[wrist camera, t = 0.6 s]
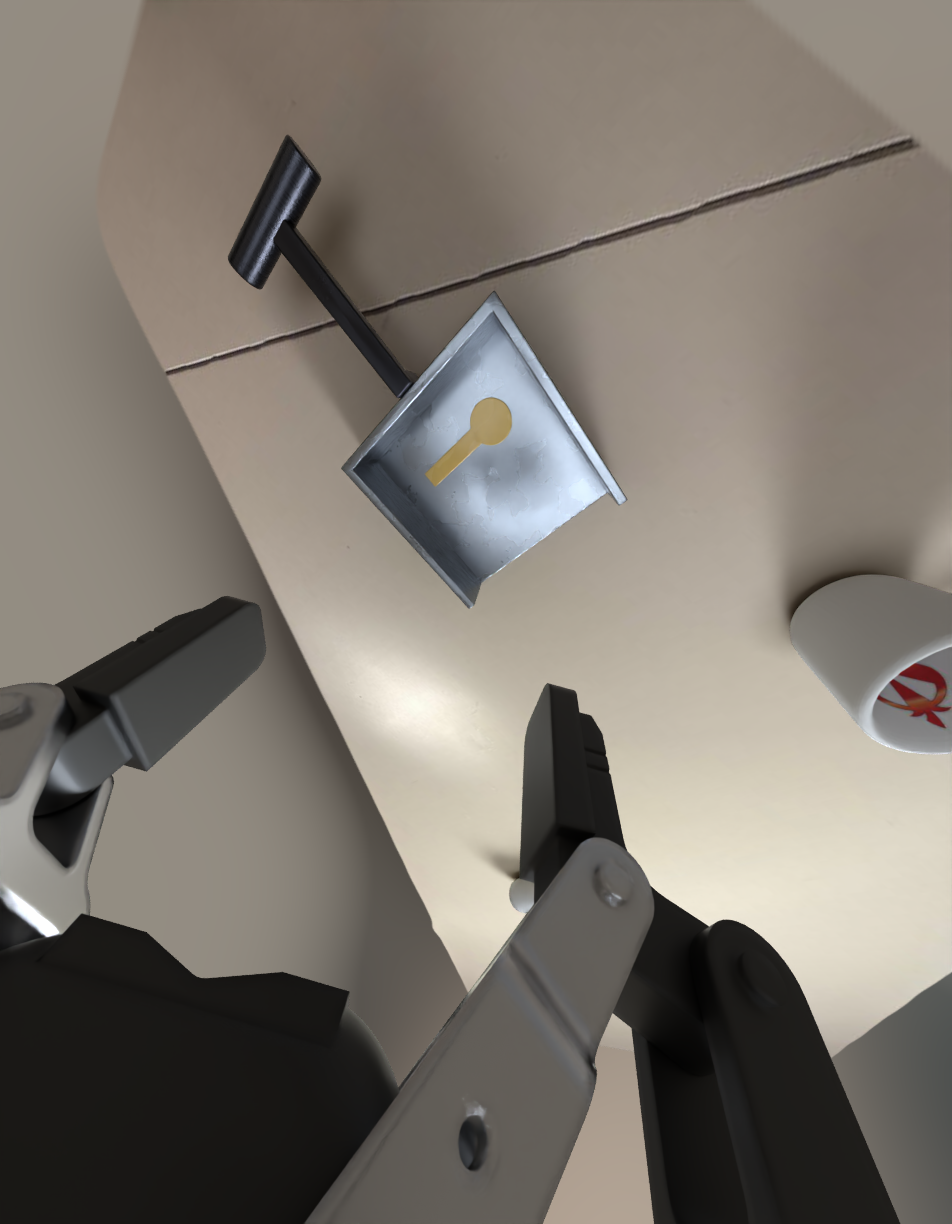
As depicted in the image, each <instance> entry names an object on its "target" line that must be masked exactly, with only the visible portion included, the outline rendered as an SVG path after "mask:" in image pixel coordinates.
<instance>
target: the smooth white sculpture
mask: <svg viewBox="0 0 952 1224" xmlns="http://www.w3.org/2000/svg"><path fill="white" fill-rule="evenodd" d="M509 897H510V901H511V904H512V905H513V907H514V908H515V909H516V910H517V911H520V912H523V913H528V911H529V910H530V908H531V907H532V906H533V904H534V883H532V882H529V881H525V880H522V879H517V880H515V881H514V882H513V883H512V884H511V887H510V890H509Z"/></svg>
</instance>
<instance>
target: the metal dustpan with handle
mask: <svg viewBox="0 0 952 1224" xmlns="http://www.w3.org/2000/svg"><path fill="white" fill-rule="evenodd" d="M320 182H321V176H320V174H319V173H318V171H317V170H316V168H315V167H314V165H313V164H312V163H311V161H310V160H309V159H308V157H307V156H306V155H305V153H304V152H303V151H302V150H301V148H300V147H299V146H298V145H297V143H296V142H295V141H294V140H293V139H292V138H291V137H290V136H289V135H286V136H285V139H284V141H283V143H282V145H281V147H280V149H279V151H278V153H277V155H276V157H275V159H274V161H273V164H272V166H271V168H270V170H269V172H268V174H267V176H266V178H265V180H264V182H263V184H262V187H261V189H260V191H259V193H258V195H257V197H256V199H255V201H254V203H253V205H252V207H251V210H250V212H249V214H248V216H247V218H246V220H245V222H244V224H243V226H242V228H241V230H240V232H239V235H238V237H237V239H236V241H235V243H234V245H233V247H232V249H231V251H230V253H229V255H228V261H229V263H230V264H231V266H232V267H233V268H234V269H235V271H236V272H237V273H238V274H239V275H240V276H241V277H242V278H243V279H244V280H245V281H247V282H248V283H249V284H250V285H252V286H253V287H255V288H257V289H262V288H263V286H264V284H265V283H266V281H267V279H268V277H269V275H270V273H271V272H272V270H273V268H274V266H275V264H276V263H277V261H278V259H279V257H280V255H281V253H282V254H283V255H284V256H285V258H286V259H287V260H288V261H289V263H290V264H291V265H292V266H293V268H294V269H295V270H296V271H297V273H298V274H299V275H300V276H301V278H302V279H303V280H304V281H305V283H306V284H307V285H308V287H309V288H310V289H311V290H312V292H313V293H314V294H315V295H316V297H317V298H318V299H319V300H320V302H321V303H322V304H323V305H324V307H325V308H326V309H327V310H328V312H329V313H330V314H331V315H332V317H333V318H334V319H335V320H336V322H337V323H338V324H339V325H340V327H341V328H342V329H343V331H344V332H345V333H346V334H347V336H348V337H349V338H350V339H351V341H352V342H353V343H354V344H355V346H356V347H357V348H358V349H359V351H360V352H361V353H362V354H363V356H364V357H365V358H366V359H367V361H368V362H369V363H370V364H371V366H372V367H373V368H374V369H375V371H376V372H377V373H378V375H379V376H380V377H381V378H382V380H383V381H384V382H385V383H386V385H387V386H388V387H389V388H390V390H391V391H392V392H393V393H394V395H395V396H396V397H397V398H401V399H400V400H399V401H398V402H397V404H396V405H395V406H394V407H393V408H392V409H391V410H390V412H389V413H388V414H387V415H386V416H385V417H384V419H383V420H382V421H381V422H380V423H379V424H378V426H377V427H376V428H375V429H374V430H373V431H372V433H371V434H370V435H369V436H368V437H367V438H366V439H365V441H364V442H363V443H362V444H361V445H360V446H359V448H358V449H357V450H356V451H355V452H354V453H353V455H352V456H351V457H350V458H349V459H348V460H347V462H346V463H345V464H344V465H343V466H342V468H341V469H342V470H343V471H344V472H345V473H346V474H347V475H348V476H349V477H350V479H351V480H352V481H353V482H354V483H355V484H356V485H357V486H358V487H359V488H360V490H361V491H362V492H363V493H364V494H365V495H366V496H367V497H368V498H369V499H370V501H371V502H372V503H373V504H374V505H375V506H376V507H377V508H378V509H379V510H380V512H381V513H382V514H383V515H384V516H385V517H386V518H387V519H388V520H389V521H390V523H391V524H392V525H393V526H394V527H395V528H396V529H397V530H398V531H399V532H400V534H401V535H402V536H403V537H404V538H405V539H406V540H407V541H408V542H409V543H410V544H411V546H412V547H413V548H414V549H415V550H416V551H417V552H418V553H419V554H420V555H421V557H422V558H423V559H424V560H425V561H426V562H427V563H428V564H429V565H430V566H431V568H432V569H433V570H434V571H435V572H436V573H437V574H438V575H439V576H440V577H441V579H442V580H443V581H444V582H445V583H446V584H447V585H448V586H449V587H450V588H451V590H452V591H453V592H454V593H455V594H456V595H457V596H458V597H459V598H460V599H461V601H462V602H463V603H464V604H465V605H466V606H467V607H468V608H471V607H472V606H474V605H475V601H476V598H477V595H478V592H479V589H480V586H481V583H482V582H483V581H484V580H486V579H487V578H489V577H490V576H491V575H493V574H494V573H496V572H497V571H498V570H500V569H501V568H503V567H504V566H505V565H507V564H508V563H510V562H511V561H512V560H514V559H515V558H517V557H518V556H519V555H521V554H522V553H524V552H525V551H526V550H528V549H529V548H531V547H532V546H533V545H535V544H536V543H538V542H539V541H540V540H542V539H543V538H545V537H546V536H547V535H549V534H550V533H552V532H553V531H554V530H556V529H557V528H559V527H560V526H561V525H563V524H564V523H566V522H567V521H568V520H570V519H571V518H573V517H574V516H575V515H577V514H578V513H580V512H581V511H582V510H584V509H585V508H587V507H588V506H589V505H591V504H592V503H594V502H595V501H596V500H598V499H599V498H601V497H602V496H603V495H605V494H606V493H608V494H609V495H610V497H611V498H612V499H613V500H614V501H615V502H616V503H617V504H618V505H621V504H622V503H624V502H625V501H627V498H626V496H625V495H624V493H623V491H622V490H621V488H620V487H619V485H618V484H617V482H616V480H615V479H614V477H613V476H612V474H611V473H610V471H609V469H608V468H607V466H606V465H605V463H604V462H603V460H602V458H601V457H600V455H599V454H598V452H597V451H596V449H595V447H594V446H593V444H592V443H591V441H590V440H589V438H588V436H587V435H586V433H585V432H584V430H583V429H582V427H581V425H580V424H579V422H578V421H577V419H576V418H575V416H574V414H573V413H572V411H571V410H570V408H569V407H568V405H567V403H566V402H565V400H564V399H563V397H562V396H561V394H560V392H559V391H558V389H557V388H556V386H555V385H554V383H553V381H552V380H551V378H550V377H549V375H548V374H547V372H546V370H545V369H544V367H543V366H542V364H541V363H540V361H539V359H538V358H537V356H536V355H535V353H534V352H533V350H532V348H531V347H530V345H529V344H528V342H527V341H526V339H525V337H524V336H523V334H522V333H521V331H520V330H519V328H518V326H517V325H516V323H515V322H514V320H513V319H512V317H511V315H510V314H509V312H508V311H507V309H506V308H505V306H504V304H503V303H502V301H501V300H500V298H499V297H498V295H497V293H496V292H495V291H493V292H492V293H491V294H490V296H489V297H488V298H487V299H486V300H485V301H484V303H483V304H482V305H481V306H480V307H479V308H478V310H477V311H476V312H475V313H474V314H473V315H472V316H471V318H470V319H469V320H468V321H467V322H466V323H465V325H464V326H463V327H462V328H461V329H460V330H459V332H458V333H457V334H456V335H455V336H454V337H453V339H452V340H451V341H450V342H449V343H448V344H447V345H446V347H445V348H444V349H443V350H442V351H441V352H440V354H439V355H438V356H437V357H436V358H435V359H434V361H433V362H432V363H431V364H430V365H429V366H428V368H427V369H426V370H425V371H424V372H423V373H422V374H421V376H420V377H419V378H418V376H417V375H416V374H415V373H413V372H410V371H407V370H405V369H404V368H403V367H402V365H401V364H400V363H399V361H398V360H397V359H396V357H395V356H394V355H393V353H392V352H391V351H390V350H389V348H388V347H387V346H386V344H385V343H384V342H383V340H382V339H381V338H380V337H379V335H378V334H377V333H376V331H375V330H374V329H373V327H372V326H371V325H370V323H369V322H368V321H367V320H366V318H365V317H364V316H363V314H362V313H361V312H360V310H359V309H358V308H357V307H356V305H355V304H354V303H353V301H352V300H351V299H350V297H349V296H348V295H347V294H346V292H345V291H344V290H343V288H342V287H341V286H340V284H339V283H338V282H337V280H336V279H335V278H334V277H333V275H332V274H331V273H330V271H329V270H328V269H327V267H326V266H325V265H324V264H323V262H322V261H321V260H320V258H319V257H318V256H317V254H316V253H315V252H314V250H313V249H312V248H311V247H310V245H309V244H308V243H307V241H306V240H305V239H304V237H303V236H302V235H301V234H300V232H299V231H298V230H297V228H296V226H297V224H298V222H299V220H300V219H301V217H302V215H303V213H304V211H305V209H306V208H307V206H308V204H309V202H310V200H311V198H312V197H313V195H314V193H315V191H316V189H317V187H318V186H319V184H320ZM490 397H493V398H497V399H500V400H502V401H503V402H504V403H505V404H506V405H507V406H508V408H509V409H510V412H511V415H512V427H511V430H510V433H509V434H508V436H507V437H506V438H505V439H504V440H503V441H502V442H501V443H499V444H496V445H485V444H481V445H480V446H479V447H478V448H476V449H475V450H474V451H473V452H472V453H471V454H470V455H469V456H468V457H467V458H466V459H465V460H464V461H463V462H462V463H460V464H459V465H458V466H457V467H456V468H455V469H454V470H453V471H452V472H451V473H450V474H449V475H448V476H447V477H446V478H444V479H443V480H442V481H441V482H440V483H439V484H438V485H437V486H436V487H435V486H434V485H433V484H432V483H431V481H430V480H429V479H428V478H427V477H426V475H425V473H426V472H427V471H428V470H429V469H430V468H431V467H432V466H433V465H434V464H435V463H436V462H437V461H438V460H439V459H440V458H441V457H442V456H443V455H444V454H445V453H446V452H447V451H448V450H449V449H450V448H451V447H452V446H454V445H455V444H456V443H457V442H458V441H459V440H460V439H461V438H462V437H463V436H464V435H465V434H466V433H467V432H468V431H469V430H470V429H471V427H470V417H471V413H472V411H473V409H474V407H475V406H476V404H477V403H478V402H480V401H481V400H483V399H485V398H490Z"/></svg>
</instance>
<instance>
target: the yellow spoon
mask: <svg viewBox="0 0 952 1224" xmlns="http://www.w3.org/2000/svg"><path fill="white" fill-rule="evenodd" d="M470 427H471V429H470V430H469V431H468V432H467V433H466V434H465V435H464V436H463V437H462V438H461V439H460V440H459V441H458V442H457V443H456V444H455V445H454V446H452V447H451V448H450V449H449V450H448V451H447V452H446V453H445V454H444V455H443V456H442V457H441V458H440V459H439V460H438V461H437V462H436V463H435V464H434V465H433V466H432V467H431V468H430V469H429V470H428V471H427V472H426V473H425V475H426V477H427V478H428V479H429V480H430V481H431V483H432V484H433V485H434V486H435V487H436V486H437V485H438V484H439V483H440V482H441V481H442V480H443V479H444V478H446V477H447V476H448V475H449V474H450V473H451V472H452V471H453V470H454V469H455V468H456V467H457V466H458V465H459V464H460V463H462V462H463V461H464V460H465V459H466V458H467V457H468V456H469V455H470V454H471V453H472V452H473V451H474V450H475V449H476V448H478V447H479V446H480V445H481V444H485V445H496V444H499V443H501V442H502V441H503V440H504V439H505V438H506V437H507V436H508V434H509V433H510V430H511V427H512V415H511V412H510V409H509V408H508V406H507V405H506V404H505V403H504V402H503V401H502V400H500V399H497V398H493V397H490V398H485V399H483V400H481V401H480V402H478V403H477V404H476V406H475V407H474V409H473V411H472V413H471V417H470Z"/></svg>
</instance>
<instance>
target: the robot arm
mask: <svg viewBox="0 0 952 1224" xmlns="http://www.w3.org/2000/svg"><path fill="white" fill-rule="evenodd" d="M265 653H266V644H265V637H264V629H263V622H262V615H261V609H260V607H259V606H258V605H257V604H255V603H252V602H248V601H245V600H241V599H237V598H234V597H230V596H224V597H221V598H219V599H217V600H216V601H214V602H212V603H211V604H209V605H207V606H206V607H204V608H202V609H197V610H194V611H191V612H188V613H185V614H182V615H178V616H175V617H173V618H172V619H170V620H168V621H166V622H165V623H163V624H161V625H159V626H158V627H156V628H155V629H154V631H149V632H147V633H146V634H144V635H142V636H140V637H138V638H137V640H136V641H135V642H134V641H132V642H130V643H128V644H126V645H124V646H123V647H121V648H119V649H117V650H116V651H114V652H112V653H110V654H109V655H107V656H105V657H103V658H102V659H100V660H98V661H96V662H95V663H93V664H91V665H89V666H88V667H86V668H84V669H82V670H81V671H79V672H77V673H75V674H74V675H72V676H70V677H68V678H66V679H65V680H63V681H61V682H59V683H57V684H55V685H51V684H47V683H26V684H18V685H12V686H8V687H3V688H0V1224H543V1221H544V1219H545V1217H546V1214H547V1212H548V1209H549V1206H550V1204H551V1201H552V1199H553V1197H554V1194H555V1192H556V1189H557V1187H558V1184H559V1182H560V1179H561V1177H562V1174H563V1172H564V1170H565V1167H566V1164H567V1162H568V1160H569V1157H570V1155H571V1152H572V1150H573V1147H574V1145H575V1142H576V1140H577V1138H578V1135H579V1132H580V1130H581V1128H582V1125H583V1123H584V1120H585V1117H586V1115H587V1112H588V1110H589V1106H590V1103H591V1100H592V1097H593V1093H594V1089H595V1084H596V1077H597V1070H596V1067H595V1055H596V1052H597V1049H598V1046H599V1043H600V1041H601V1038H602V1036H603V1034H604V1031H605V1029H606V1027H607V1024H608V1022H609V1020H610V1017H611V1015H612V1013H613V1014H615V1015H616V1016H617V1017H618V1018H620V1019H621V1020H622V1021H623V1022H625V1023H626V1024H627V1025H628V1026H630V1027H631V1028H632V1036H633V1044H634V1053H635V1061H636V1069H637V1079H638V1088H639V1097H640V1105H641V1113H642V1122H643V1131H644V1140H645V1149H646V1157H647V1166H648V1175H649V1183H650V1192H651V1200H652V1210H653V1218H654V1224H900V1222H899V1219H898V1217H897V1215H896V1212H895V1210H894V1208H893V1205H892V1203H891V1200H890V1198H889V1196H888V1193H887V1191H886V1188H885V1186H884V1184H883V1182H882V1179H881V1177H880V1174H879V1172H878V1169H877V1167H876V1165H875V1162H874V1160H873V1158H872V1155H871V1153H870V1150H869V1148H868V1146H867V1143H866V1141H865V1138H864V1136H863V1134H862V1132H861V1129H860V1127H859V1124H858V1122H857V1120H856V1117H855V1115H854V1112H853V1110H852V1107H851V1105H850V1103H849V1100H848V1098H847V1096H846V1093H845V1091H844V1088H843V1086H842V1084H841V1082H840V1079H839V1077H838V1074H837V1072H836V1069H835V1067H834V1065H833V1062H832V1060H831V1057H830V1055H829V1053H828V1050H827V1048H826V1046H825V1043H824V1041H823V1038H822V1036H821V1034H820V1031H819V1029H818V1026H817V1024H816V1022H815V1019H814V1017H813V1015H812V1012H811V1010H810V1007H809V1005H808V1003H807V1000H806V998H805V996H804V994H803V991H802V989H801V987H800V985H799V983H798V982H797V980H796V978H795V976H794V975H793V973H792V972H791V970H790V969H789V967H788V966H787V964H786V963H785V961H784V960H783V959H782V958H781V956H780V955H779V954H778V953H777V952H776V950H775V949H774V948H773V947H772V946H771V945H770V944H769V943H768V942H767V941H766V940H765V939H764V938H762V937H761V936H760V935H759V934H758V933H756V932H755V931H754V930H752V929H751V928H749V927H747V926H746V925H744V924H741V923H739V922H737V921H733V920H721V921H718V922H716V923H715V924H713V925H711V926H710V927H709V926H708V925H706V924H705V923H703V922H701V921H700V920H698V919H697V918H695V917H694V916H692V915H691V914H689V913H688V912H686V911H685V910H683V909H682V908H680V907H679V906H677V905H675V904H674V903H672V902H671V901H669V900H668V899H666V898H665V897H664V896H662V895H661V894H659V893H658V892H657V891H656V890H655V889H654V888H653V887H651V886H650V884H649V882H648V879H647V877H646V875H645V873H644V872H643V870H642V868H641V867H640V865H639V864H638V863H637V861H636V860H635V859H634V858H633V857H632V856H631V855H630V854H629V853H628V852H627V849H626V847H625V843H624V839H623V834H622V829H621V824H620V819H619V815H618V810H617V805H616V800H615V795H614V790H613V785H612V780H611V775H610V774H609V765H608V760H607V757H606V750H605V745H604V740H603V735H602V733H601V731H600V729H599V728H598V726H597V724H596V723H595V721H594V719H593V718H592V716H591V715H587V714H583V713H580V712H579V707H578V700H577V694H576V692H575V691H574V690H571V689H567V688H563V687H560V686H556V685H552V684H548V683H547V684H546V685H545V687H544V689H543V691H542V693H541V696H540V698H539V700H538V702H537V705H536V707H535V709H534V712H533V714H532V716H531V718H530V721H529V724H528V727H527V731H526V736H525V745H524V770H523V797H522V823H521V849H520V876H519V879H522V880H525V881H529V882H532V883H534V904H533V906H532V907H531V908H530V910H529V911H528V913H527V914H526V915H525V917H524V918H523V919H522V921H521V922H520V923H519V925H518V926H517V927H516V929H515V930H514V932H513V933H512V934H511V936H510V937H509V938H508V940H507V941H506V942H505V944H504V945H503V946H502V948H501V949H500V951H499V952H498V953H497V955H496V956H495V957H494V959H493V960H492V961H491V963H490V964H489V965H488V967H487V968H486V970H485V971H484V972H483V974H482V975H481V976H480V978H479V979H478V980H477V982H476V983H475V984H474V986H473V987H472V989H471V990H470V991H469V993H468V994H467V995H466V997H465V998H464V999H463V1001H462V1002H461V1003H460V1005H459V1006H458V1007H457V1009H456V1010H455V1011H454V1013H453V1014H452V1015H451V1017H450V1018H449V1019H448V1021H447V1022H446V1023H445V1025H444V1026H443V1028H442V1029H441V1030H440V1031H439V1033H438V1034H437V1036H436V1037H435V1038H434V1040H433V1041H432V1043H431V1044H430V1045H429V1046H428V1048H427V1049H426V1050H425V1052H424V1053H423V1055H422V1056H421V1057H420V1059H419V1060H418V1061H417V1063H416V1064H415V1066H414V1067H413V1068H412V1069H411V1071H410V1072H409V1074H408V1075H407V1076H406V1078H405V1079H404V1080H403V1082H402V1083H401V1085H400V1086H399V1087H398V1086H397V1083H396V1080H395V1076H394V1073H393V1071H392V1069H391V1066H390V1064H389V1061H388V1059H387V1057H386V1054H385V1052H384V1050H383V1049H382V1047H381V1045H380V1043H379V1042H378V1040H377V1039H376V1037H375V1035H374V1033H373V1032H372V1031H371V1030H370V1028H368V1026H367V1025H366V1024H365V1022H364V1021H363V1020H362V1019H361V1018H360V1017H359V1016H358V1015H356V1014H355V1013H354V1012H353V1011H352V1010H351V1009H349V1008H348V1006H349V991H346V990H342V989H339V988H335V987H332V986H329V985H325V984H322V983H318V982H315V981H312V980H308V979H305V978H301V977H298V976H294V975H291V974H288V973H284V972H279V973H267V974H255V975H242V976H231V977H218V978H199V977H196V976H195V975H193V974H192V973H191V972H190V971H189V970H188V969H186V968H185V967H184V966H183V965H182V964H181V963H180V962H179V961H178V960H177V959H175V958H174V957H173V956H172V955H171V954H170V953H169V952H167V950H165V949H164V948H163V947H162V946H161V945H160V944H159V943H158V942H157V941H156V940H154V939H153V938H152V937H151V936H150V935H149V934H148V933H147V932H144V931H140V930H137V929H134V928H130V927H127V926H124V925H120V924H117V923H113V922H110V921H106V920H103V919H99V918H96V917H93V916H90V896H89V891H88V885H87V884H88V883H87V881H88V872H89V868H90V864H91V860H92V857H93V854H94V850H95V847H96V843H97V840H98V837H99V833H100V829H101V826H102V823H103V819H104V816H105V812H106V809H107V806H108V802H109V799H110V795H111V792H112V788H113V784H114V780H113V777H112V774H113V773H114V772H116V771H117V770H118V769H119V768H120V767H121V766H123V765H126V766H129V767H133V768H136V769H140V770H143V771H148V770H149V769H150V768H151V767H152V766H153V765H154V764H155V763H156V762H157V761H159V760H160V759H161V758H162V757H163V756H164V755H165V754H166V753H167V752H168V751H169V750H170V749H171V748H173V747H174V746H175V745H176V744H177V743H178V742H179V741H180V740H181V739H182V738H183V737H185V735H187V734H188V733H189V732H190V731H191V730H192V729H193V728H194V727H195V726H196V725H198V724H199V723H200V722H201V721H202V720H203V719H204V718H205V717H206V716H207V715H208V714H209V713H210V712H212V711H213V710H214V709H215V708H216V707H217V706H218V705H219V704H220V703H221V702H222V701H223V700H224V699H226V698H227V697H228V696H229V695H230V694H231V693H232V692H233V691H234V690H235V689H236V688H237V687H238V686H240V685H241V684H242V683H243V682H244V681H245V680H246V679H247V678H248V677H249V676H250V675H251V674H252V673H254V672H255V671H256V670H257V669H258V668H259V666H260V665H261V663H262V661H263V659H264V656H265Z"/></svg>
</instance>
